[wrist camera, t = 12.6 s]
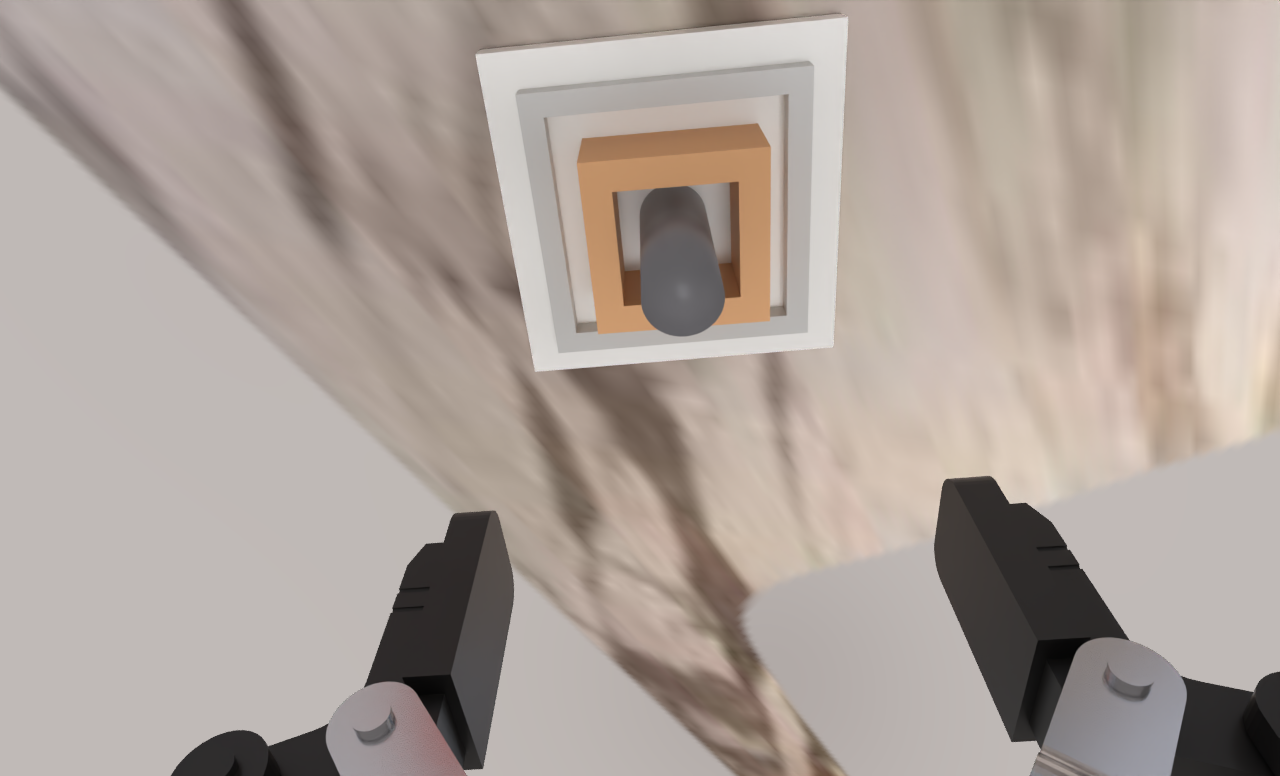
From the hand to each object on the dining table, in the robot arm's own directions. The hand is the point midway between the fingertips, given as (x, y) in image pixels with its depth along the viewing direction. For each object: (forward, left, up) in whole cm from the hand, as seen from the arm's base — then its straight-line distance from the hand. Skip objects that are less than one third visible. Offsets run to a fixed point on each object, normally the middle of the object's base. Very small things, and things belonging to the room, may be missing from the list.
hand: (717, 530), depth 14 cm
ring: (0, 0, -17) cm, 17 cm away
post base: (0, 0, -18) cm, 18 cm away
